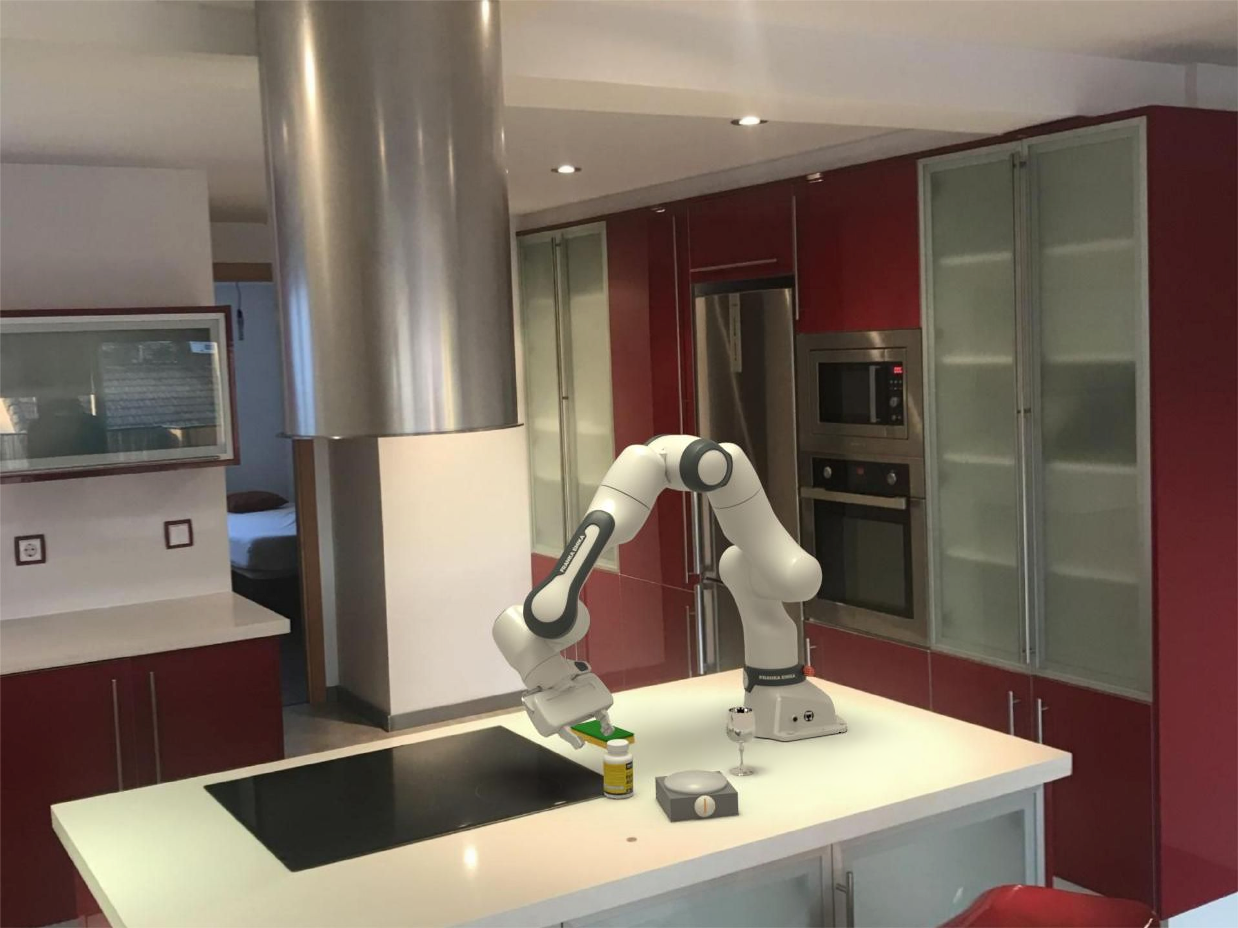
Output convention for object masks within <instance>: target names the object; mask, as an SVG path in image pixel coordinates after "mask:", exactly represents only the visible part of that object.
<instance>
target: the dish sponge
mask: <svg viewBox="0 0 1238 928" xmlns="http://www.w3.org/2000/svg"><path fill="white" fill-rule="evenodd" d="M612 726H613V727H614V729H615V731H614V732H613V733H612V734H611V735H608V736H605V735H604V733H602V731H601V729H602V726H601V723H600V721H597V720H596V719H593V720H588V721H585V722H582V723H580V724H578V725H575V726H573V727H570V728H571V729H570V731H571V732H573V733H574V734H575V735H577V736H581V737H582V739H583V740H584V741H585V742H587V743H589V744H592V745H595V746H598V747H600V748H602V749H605V750H607V742H608V741H610V740H614V739H623V740H627V741H628V742H629V745H630V744H634V743H635V733H634V732H632V731H629V730H626V729H623V728H620V727H618V726H615V725H613V724H612Z"/></svg>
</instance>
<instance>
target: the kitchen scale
mask: <svg viewBox="0 0 1238 928" xmlns="http://www.w3.org/2000/svg"><path fill="white" fill-rule="evenodd" d="M654 778H655V780H654V782H655V788H654V789H655V800H656V801H657V802H658V805H659V806H660V807H661V809H662V811H663V812H664V814H665V815H666V816H667V818H668V820H669V821H670V822H671V823H672V821H673V822H681V821H691V820H701V819H702V820H703V819H709V818H710V819H712V818H721V817H732V816H739V792H738V791H737V789H736V788H735V787H734V786H733V785H732V784H731V782H730V781H729V780H728V779H727V777H726V776H725V775H724V774H723V772H721V770H716V771H715V770H714V771H711V770H705V769H704V770H703V769H690V770H682V771H678V772H673V773H671V774H669V775H663V776H662V775H661V776H654Z"/></svg>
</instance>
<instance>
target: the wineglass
mask: <svg viewBox="0 0 1238 928" xmlns="http://www.w3.org/2000/svg"><path fill="white" fill-rule="evenodd" d="M725 732H726V736H727V737H728V739H729V740H731V741H732V742H734V743H736V744H739V746H738V752H739V755H740V764H739V767H735V768H732V769H731V770H730V771H729V772H730V774H731V775H734V776H749V775H752V774H754V773H755V771H754V769H752V768H749V767H745V765H744V751H745V746H744V744H746V743H749V742H751V741H752V740H753V739H754V738H755V737H756V736H755V734H756V721H755V716H754V712H753V709H751V708H748V707H743V706H736V707H731V708H728V711H727V715H726V720H725Z"/></svg>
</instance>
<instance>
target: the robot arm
mask: <svg viewBox="0 0 1238 928" xmlns="http://www.w3.org/2000/svg"><path fill="white" fill-rule="evenodd" d="M602 479H603V480H602V481H601V483H600V485H599V487H598V489H597V490H596V492H595V494H594V496H593V499H592V501H591V502H590V505H589V507H588V509H587V511H586V513H585V515H584V517H583V519H582V520H581V522H580V524H579V526H578V527H577V528H576V530H575V532H574V534H573V535H572V537H571V539H570V540H569V542H568V544H567V545H566V547H565V548H564V550H563V552H562V553H561V556H560V557H559V558H558V560H557V561H556V563H555V565H554V567H553V568H552V570H551V572H550V573H549V574H548V575H547V576H546V577H545V578H544V579H543V580H542V581H541V582H540V583H539V584H537V585H536V586H535V587H534V588H533V589H532V590H531V591H530V592H529V593H528V594H527V596H526V598H525V600H524V602H523V604H512V605H510V606H508V607H507V608H505V609H504V610H503V611H502V612H501V613H500V614H499V615H498V617H497V618H496V619H495V621H494V623H493V626H492V628H491V634H492V635H491V636H492V638H493V641H494V643H495V645H496V646H497V649H498V650H499V652H500V653H501V655H502V656H503V658H504V659H505V661H506V662H507V663H508V665H509V666H510V667H511V668H513V669H514V670H515V671H516V672H517V673H518V674H519V677H520V679H521V681H522V683H523V685H524V686H525V687H526V689H527V690H526V691H525V690H524V692H522V693H521V694H522V695H521V704H522V705H523V707H524V708H525V711H526V714H527V717H528V718H529V720H530V722H531V723H532V725H533V727H534V729H535V730H536V732H537V733H538V734H539V735H540V736H542V737H543V738H549V737H551V736H553V735H556V734H557V735H558V736H559V737H560V739H562V740H563V741H565V742H566V743H568V744H570V746H572V748H573V749H574V750H579V749H582V748H583V746H585V744H586V741H584V740H583V739H582V737H581V736H577V735H575V734H574V733H573V732H571V731H570V729H571V728H570V727H573V726H575V725H578V724H580V723H584V722H588V721H590V720H591V719H595V720H597V721H600V723H601V726H602V729H601V731H602V733H604V735H605V736H608V735H611V734H612V733H613V732H614V731H615V729H614V727H613V726H614V725H613V724H612V723H611V719H610V714H609V712H608V710H609V709H610V708H611V707H612V706H613V705H614V703H615V702H614V701H615V700H614V697H613V694H612V693H611V692H610V690H609V689H608V688H607V686H606V685H605V684H604V682H603V681H602V680H601V679H600V677H598V676H597V675H596V674H595V673H593V672H591V670H592V667H591V665H590V664H589V662H587V661H584V660H574V659H573V660H572V659H568V658H564V657H563V655H562V653H561V652H562V651H565V650H566V649H569V648H570V647H572V646H573V645H575V644H576V643H578V642H580V641H582V640H583V638H584V637H585V636H586V635H587V634H588V632H589V629H590V627H591V614H590V611H589V609H588V607H587V606H586V604H585V603H584V602H583V601H581V600H580V599H579V598H580V593H581V590H582V589H583V587H584V586H585V584H586V582H587V581H588V578H589V577H590V575H591V573H592V571H593V570H594V568H595V567H596V565H597V563H598V561H599V560H600V558H601V556H602V555H603V554H604V553H605V552H606V551H607V550H609V549H610V548H612V547H614V546H617V545H622V544H626V543H628V542H630V541H631V540H633V539H634V538H635V537H636V535H637V534H638V533H639V531H640V530H641V529H642V528H643V525H644V524H645V523H646V521H647V519H648V517H649V516H650V514H651V511H652V510H653V508H654V505H655V503H656V501H657V498H658V496H659V495H660V494H661V493H662V492H663V491H664V490H665V489H666V488H667V489H671V490H675V491H679V492H681V491H682V492H693V493H696V494H697V493H698V494H701V493H702V494H703V493H704V494H705V493H706V495H707V498H708V500H709V503H710V505H711V507H712V510H713V512H714V514H715V516H716V519H717V521H718V523H719V527H720V528H721V530H722V533H723V535H724V537H726V539H727V540H728V541H729V542H730V543H731V544H733V545H731V546H729V547H728V548H727V549H726V550H725V551H724V552H723V553H722V555H721V557H720V560H719V563H718V573H719V577H720V580H721V581H722V582H723V584H724V585H725V586H726V587H727V588H728V590H729V592H730V594H731V595H732V597H733V598H734V601H735V604H736V606H737V609H738V612H739V615H740V619H741V623H742V628H743V629H742V630H743V641H744V662H743V664H742V666H743V667H742V669H743V670H742V684H743V685H742V687H743V689H744V690H743V691H744V699H743V706H742V707H748V708H751V709H753V712H754V716H755V721H756V734H755V736H754V737H757V738H766V739H772V740H776V741H781V742H789V741H790V742H791V741H796V740H802V739H809V738H814V737H815V738H816V737H820V736H827V735H828V736H829V735H833V734H840V733H839V732H841V733H845V732H846V731H847V730H848V726H847V723H846V721H845V719H844V718H843V717H841V716H839V715H837V713H836V709H835V705H834V703H833V700H832V698H831V697H830V696H829V695H828V694H827V693H826V692H825V691H823V689H821V688H820V687H818V686H817V685H816V684H815V683H813V682H811V681H810V680H809V679H807V678H811V677H813V676H814V675H815V669H814V668H813V667H812V666H810V665H806V664H804V663H802V662H801V661H799V657H798V655H799V654H798V653H799V652H798V627H797V625H796V623H795V622H794V621H793V619H792V618H791V616H789V614H788V613H787V612H786V610H785V609H786V608H785V607H784V604H783V602H784V603H798V602H805V601H806V602H807V601H810V600H811V599H813V598H814V597H815V596H816V595H817V593H818V592H819V590H820V588H821V585H822V580H823V573H822V571H823V570H822V568H821V564H820V563H819V561H818V560H817V558H815V557H814V556H812V555H811V554H809V553H808V552H807V551H806V550H805V549H803V547H801V546H800V545H799V544H798V543H797V542H796V540H794V538H793V537H792V536H791V534H789V532H788V531H787V530H786V528H785V527H784V525H782V523H781V522H780V520H779V518H778V517H777V515H776V514H775V512H774V509H772V505H771V503H770V501H769V499H768V497H767V494H766V492H765V489H764V488H763V486H762V483H761V480H760V479H759V476H758V474H757V472H756V470H755V468H754V466H753V464H752V462H751V461H750V460H749V458H748V456H747V455H746V453H745V452H744V451H743V449H742V448H741V447H740V446H739V445H737V444H736V443H732V442H721V443H717V442H715V441H713V440H712V439H710V438H709V439H708V438H703V437H698V436H695V435H689V434H671V433H663V434H658V435H655V436H653V437H651V438H649V439H648V440H646V442H644V443H643V444H632V445H629V446H627V447H626V448H624V449H623V450H622V452H621V453H620V454H619V456H618V457H617V458H616V459H615V461H614V462H613V463H612V465H611V467H610V468H609V470H607V473H606V474H605V476H604V477H603V478H602ZM612 725H613V726H612Z"/></svg>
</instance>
